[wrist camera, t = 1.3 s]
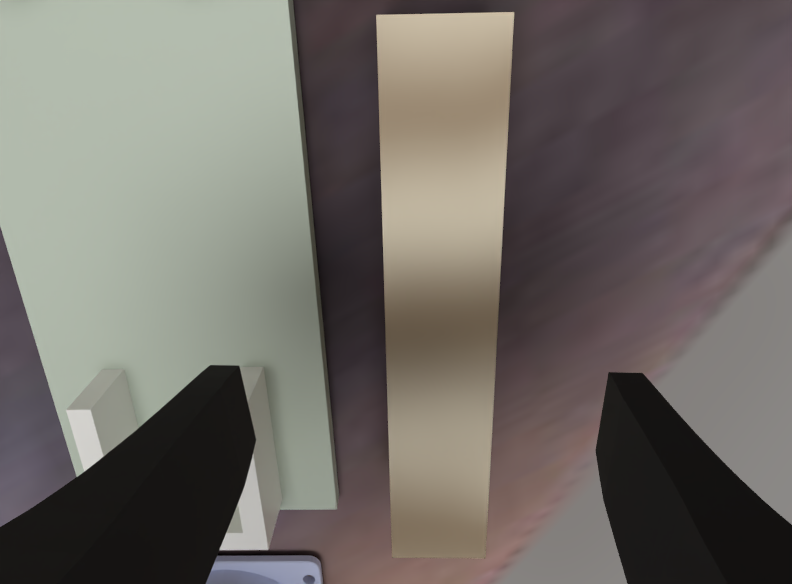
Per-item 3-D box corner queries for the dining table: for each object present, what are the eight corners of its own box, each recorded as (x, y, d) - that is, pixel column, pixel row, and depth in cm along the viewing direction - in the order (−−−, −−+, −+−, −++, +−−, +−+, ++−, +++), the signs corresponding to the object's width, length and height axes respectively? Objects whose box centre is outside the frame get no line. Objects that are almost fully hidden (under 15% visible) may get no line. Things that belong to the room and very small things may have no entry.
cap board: (339, 495, 25) (336, 509, 24) (96, 497, 26) (87, 511, 25) (268, -261, 16) (261, -274, 15) (-119, -238, 16) (-145, -250, 15)
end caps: (282, 499, 24) (262, 573, 21) (136, 501, 25) (94, 573, 21) (179, -233, 15) (116, -299, 12) (-52, -219, 15) (-175, -282, 12)
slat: (472, 457, 25) (485, 558, 20) (396, 457, 25) (391, 557, 20) (489, 13, 18) (514, 11, 14) (386, 15, 18) (376, 14, 14)
